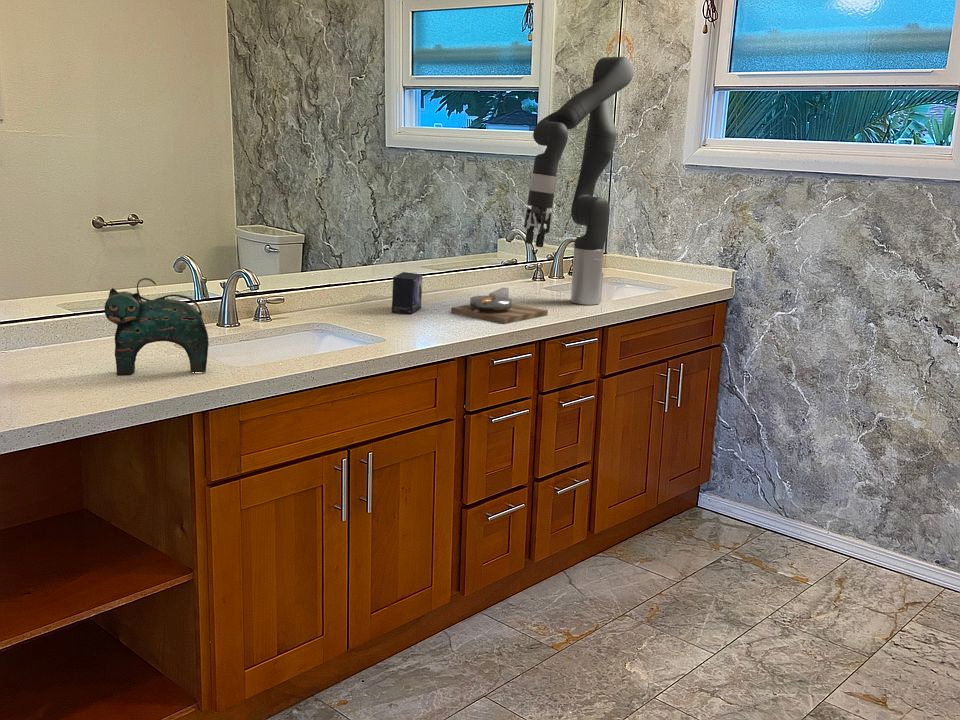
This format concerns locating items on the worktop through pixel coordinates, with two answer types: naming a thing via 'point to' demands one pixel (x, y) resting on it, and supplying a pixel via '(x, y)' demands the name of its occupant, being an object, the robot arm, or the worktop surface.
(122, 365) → the ceramic cat
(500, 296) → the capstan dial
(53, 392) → the worktop surface
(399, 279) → the small box
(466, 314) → the stand
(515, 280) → the worktop surface
